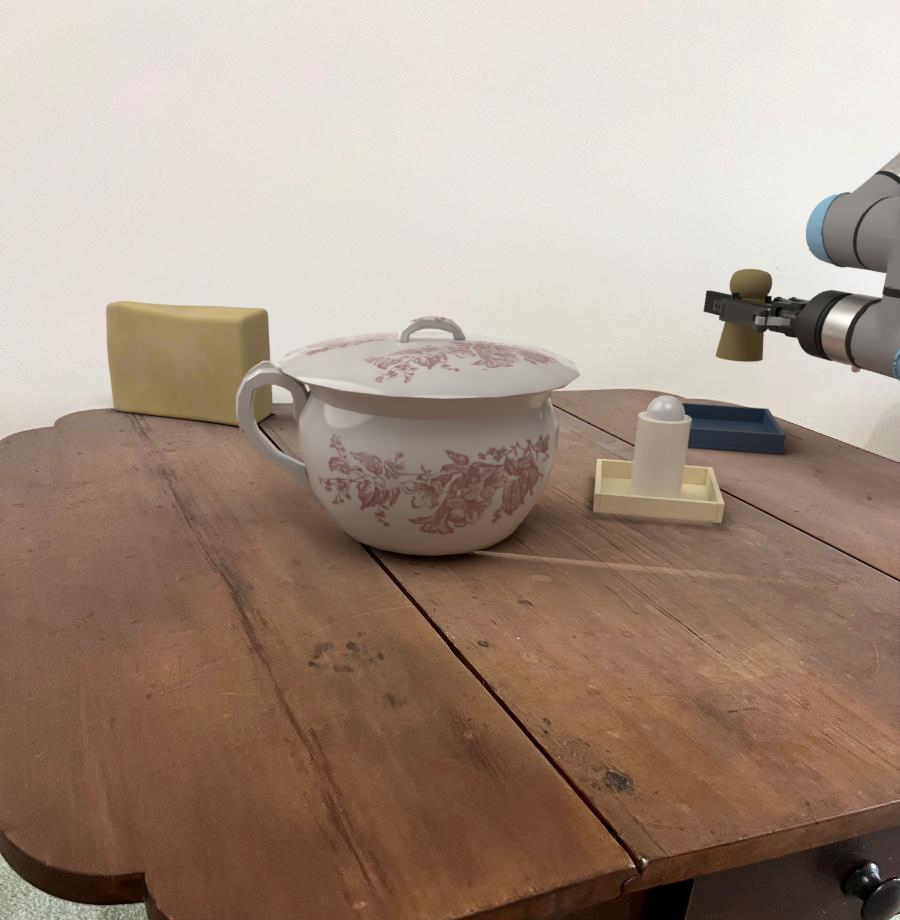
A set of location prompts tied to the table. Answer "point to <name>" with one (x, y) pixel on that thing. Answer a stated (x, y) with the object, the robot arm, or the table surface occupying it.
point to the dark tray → (734, 428)
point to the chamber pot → (418, 433)
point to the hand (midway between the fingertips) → (722, 300)
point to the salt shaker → (660, 449)
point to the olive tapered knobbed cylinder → (740, 339)
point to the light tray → (695, 502)
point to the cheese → (185, 359)
